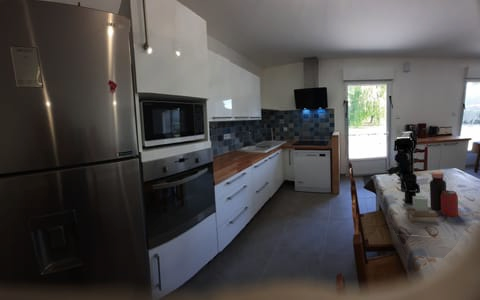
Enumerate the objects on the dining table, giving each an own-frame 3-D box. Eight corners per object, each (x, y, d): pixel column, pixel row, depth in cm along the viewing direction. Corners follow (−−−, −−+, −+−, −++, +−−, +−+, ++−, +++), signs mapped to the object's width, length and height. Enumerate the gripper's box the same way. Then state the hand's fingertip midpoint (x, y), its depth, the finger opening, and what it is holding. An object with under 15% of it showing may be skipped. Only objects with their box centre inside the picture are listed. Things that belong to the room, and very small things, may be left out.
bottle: (440, 212, 126) (439, 175, 124) (427, 208, 132) (426, 173, 130) (450, 209, 127) (449, 173, 126) (436, 206, 134) (435, 171, 132)
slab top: (405, 210, 126) (405, 206, 126) (426, 210, 124) (426, 205, 124) (413, 217, 117) (413, 212, 117) (436, 217, 115) (436, 212, 114)
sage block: (412, 207, 123) (412, 196, 123) (424, 207, 122) (424, 196, 121) (415, 210, 119) (415, 199, 118) (428, 211, 117) (427, 199, 116)
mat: (404, 213, 129) (404, 212, 129) (429, 214, 125) (429, 213, 125) (411, 223, 116) (411, 223, 116) (439, 225, 112) (439, 224, 112)
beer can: (450, 211, 125) (449, 189, 124) (462, 216, 118) (461, 192, 117) (437, 213, 125) (437, 190, 124) (449, 217, 118) (448, 194, 117)
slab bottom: (406, 214, 127) (406, 210, 127) (428, 214, 123) (428, 210, 123) (412, 221, 118) (411, 216, 118) (435, 222, 114) (435, 217, 114)
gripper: (383, 158, 140) (385, 184, 141) (390, 164, 122) (391, 193, 124) (406, 157, 135) (407, 184, 137) (416, 163, 118) (417, 193, 119)
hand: (405, 188), depth 129 cm, fingers open, 9 cm apart
